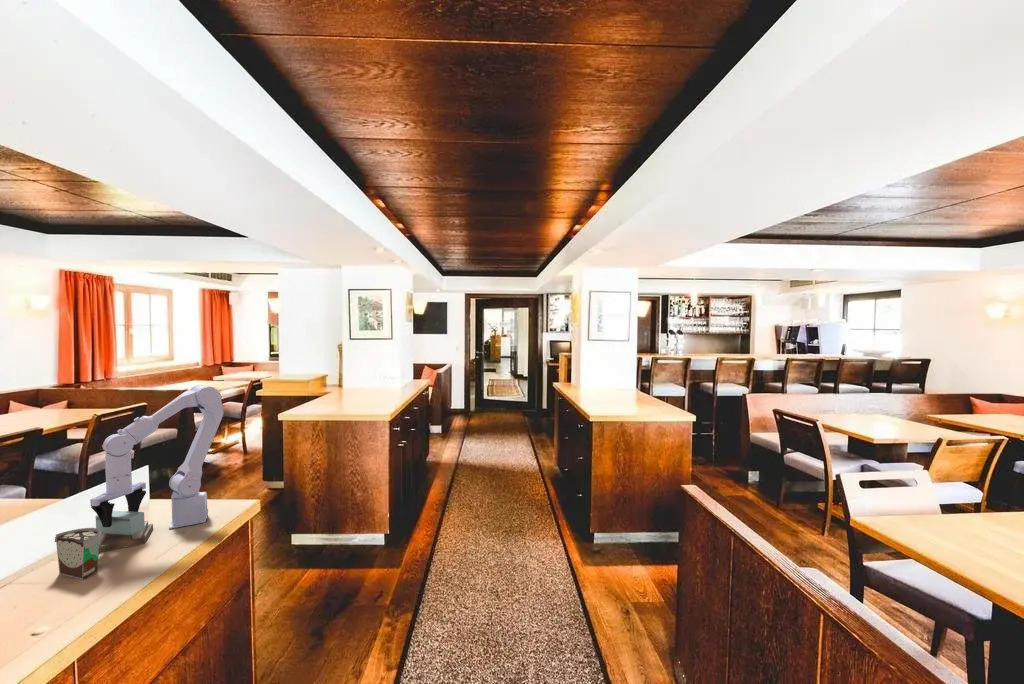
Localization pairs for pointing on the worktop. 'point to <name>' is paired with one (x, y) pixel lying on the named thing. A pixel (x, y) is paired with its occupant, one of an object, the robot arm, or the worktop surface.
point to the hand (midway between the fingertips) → (120, 521)
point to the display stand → (124, 539)
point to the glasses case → (123, 523)
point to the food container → (78, 552)
